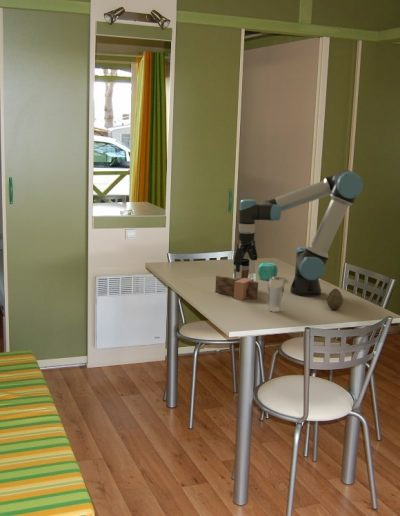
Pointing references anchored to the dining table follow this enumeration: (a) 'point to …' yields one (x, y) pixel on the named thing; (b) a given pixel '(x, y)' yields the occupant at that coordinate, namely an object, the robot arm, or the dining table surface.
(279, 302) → the beer glass
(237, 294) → the notched block
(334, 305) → the decorative egg
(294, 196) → the robot arm
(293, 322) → the dining table surface
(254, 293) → the slotted board
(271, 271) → the decorative dice
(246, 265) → the coffee cup
